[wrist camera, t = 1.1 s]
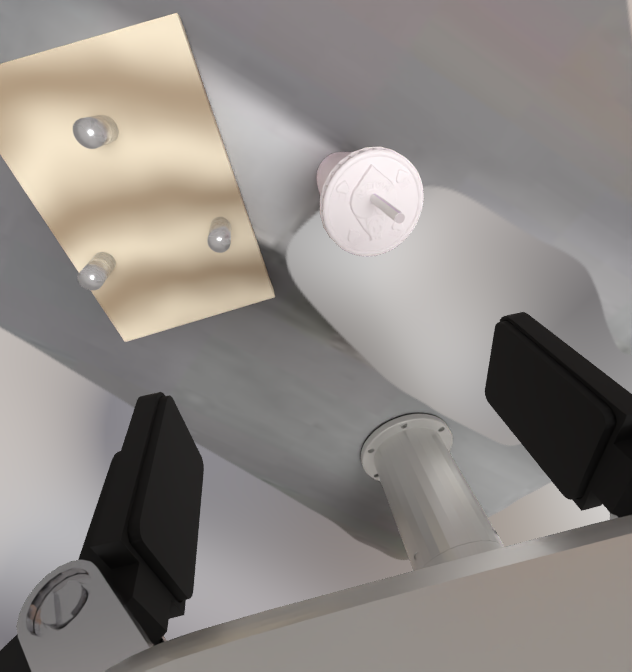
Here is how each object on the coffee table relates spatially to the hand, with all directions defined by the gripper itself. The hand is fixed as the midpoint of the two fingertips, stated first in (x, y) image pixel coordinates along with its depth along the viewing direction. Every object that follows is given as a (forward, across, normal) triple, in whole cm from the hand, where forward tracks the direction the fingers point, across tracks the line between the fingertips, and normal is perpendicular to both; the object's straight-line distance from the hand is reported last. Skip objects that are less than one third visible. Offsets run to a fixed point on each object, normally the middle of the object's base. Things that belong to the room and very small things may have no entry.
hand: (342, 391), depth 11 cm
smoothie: (+24, -6, -1) cm, 25 cm away
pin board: (+24, +10, -1) cm, 26 cm away
